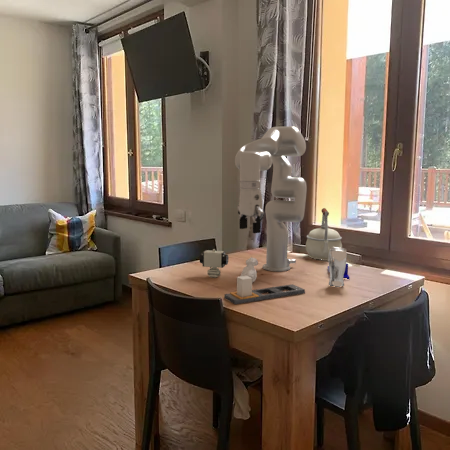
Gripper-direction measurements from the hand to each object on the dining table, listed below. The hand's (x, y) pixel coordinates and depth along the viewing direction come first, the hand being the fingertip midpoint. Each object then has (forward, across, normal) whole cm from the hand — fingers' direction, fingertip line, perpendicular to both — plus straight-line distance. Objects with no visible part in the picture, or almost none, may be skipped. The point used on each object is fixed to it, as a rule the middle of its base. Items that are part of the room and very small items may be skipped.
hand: (249, 230), depth 171 cm
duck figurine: (+24, +9, -5) cm, 26 cm away
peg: (+23, -10, +8) cm, 26 cm away
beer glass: (+24, -11, -34) cm, 43 cm away
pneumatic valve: (+24, +23, +4) cm, 34 cm away
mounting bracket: (+25, +3, -47) cm, 53 cm away
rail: (+23, -10, -1) cm, 25 cm away
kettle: (+26, +31, -62) cm, 74 cm away
